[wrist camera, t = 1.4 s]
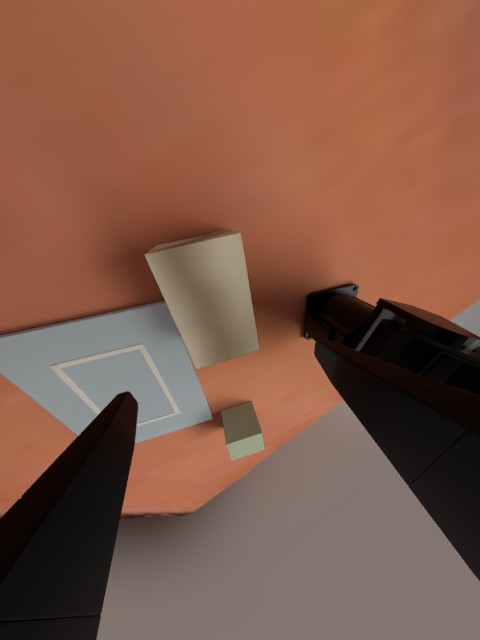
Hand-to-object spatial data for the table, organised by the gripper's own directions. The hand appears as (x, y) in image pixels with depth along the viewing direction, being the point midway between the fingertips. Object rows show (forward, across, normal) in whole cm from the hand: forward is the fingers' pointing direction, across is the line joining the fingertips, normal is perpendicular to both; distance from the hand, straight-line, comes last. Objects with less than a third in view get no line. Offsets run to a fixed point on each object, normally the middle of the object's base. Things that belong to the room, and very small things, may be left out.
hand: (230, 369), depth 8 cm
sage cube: (+11, 0, +22) cm, 25 cm away
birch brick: (+11, 0, 0) cm, 11 cm away
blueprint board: (+11, +12, +10) cm, 19 cm away
